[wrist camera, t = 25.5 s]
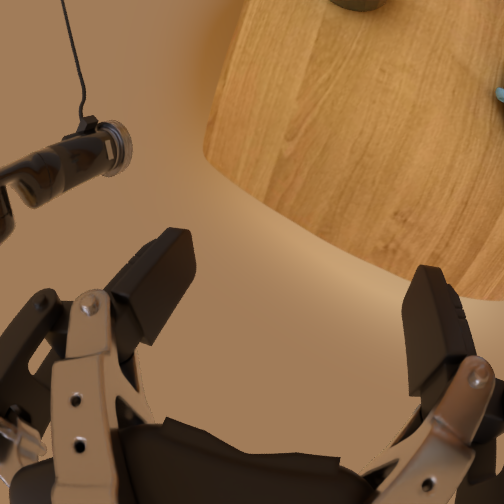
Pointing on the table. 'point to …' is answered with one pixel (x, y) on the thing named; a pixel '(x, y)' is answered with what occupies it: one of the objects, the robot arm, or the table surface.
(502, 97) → the teapot
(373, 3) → the green round bowl
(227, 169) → the table surface
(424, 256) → the table surface
